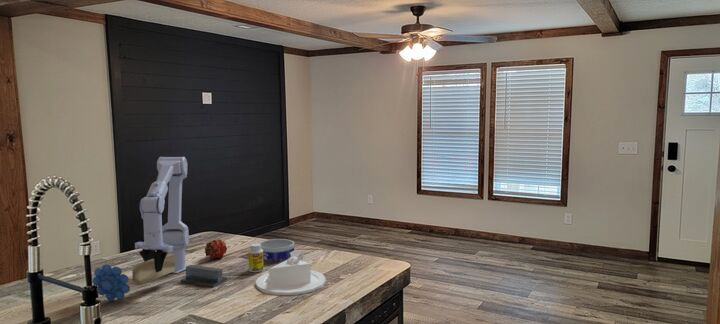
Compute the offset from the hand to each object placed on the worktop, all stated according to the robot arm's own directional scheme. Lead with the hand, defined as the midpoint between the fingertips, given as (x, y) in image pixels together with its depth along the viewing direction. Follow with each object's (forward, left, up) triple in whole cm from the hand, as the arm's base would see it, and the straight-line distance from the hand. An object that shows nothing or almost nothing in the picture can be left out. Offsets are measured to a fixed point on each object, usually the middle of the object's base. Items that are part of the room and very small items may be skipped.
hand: (154, 270), depth 160 cm
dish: (+40, +23, -7) cm, 47 cm away
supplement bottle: (+21, +30, -7) cm, 37 cm away
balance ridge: (+10, +13, -7) cm, 18 cm away
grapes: (-6, -13, -7) cm, 16 cm away
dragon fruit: (-4, +39, -7) cm, 40 cm away
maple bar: (0, 0, -2) cm, 2 cm away
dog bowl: (+19, +49, -7) cm, 53 cm away
